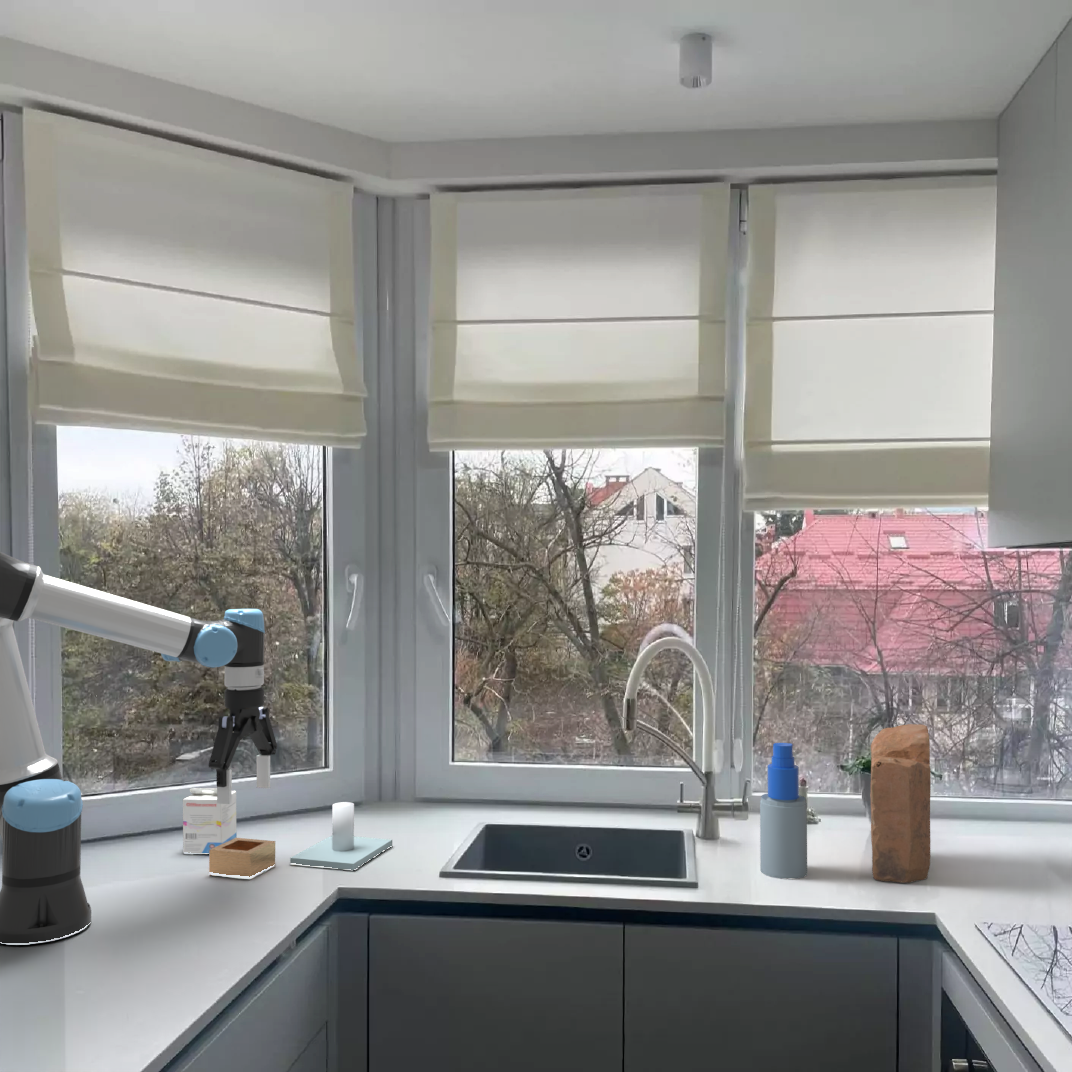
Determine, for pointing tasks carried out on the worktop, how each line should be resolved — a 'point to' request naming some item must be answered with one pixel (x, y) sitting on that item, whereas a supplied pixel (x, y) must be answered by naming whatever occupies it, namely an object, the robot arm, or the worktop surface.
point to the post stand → (342, 844)
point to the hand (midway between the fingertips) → (244, 795)
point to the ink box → (207, 820)
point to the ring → (242, 857)
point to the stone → (900, 803)
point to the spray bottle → (783, 819)
